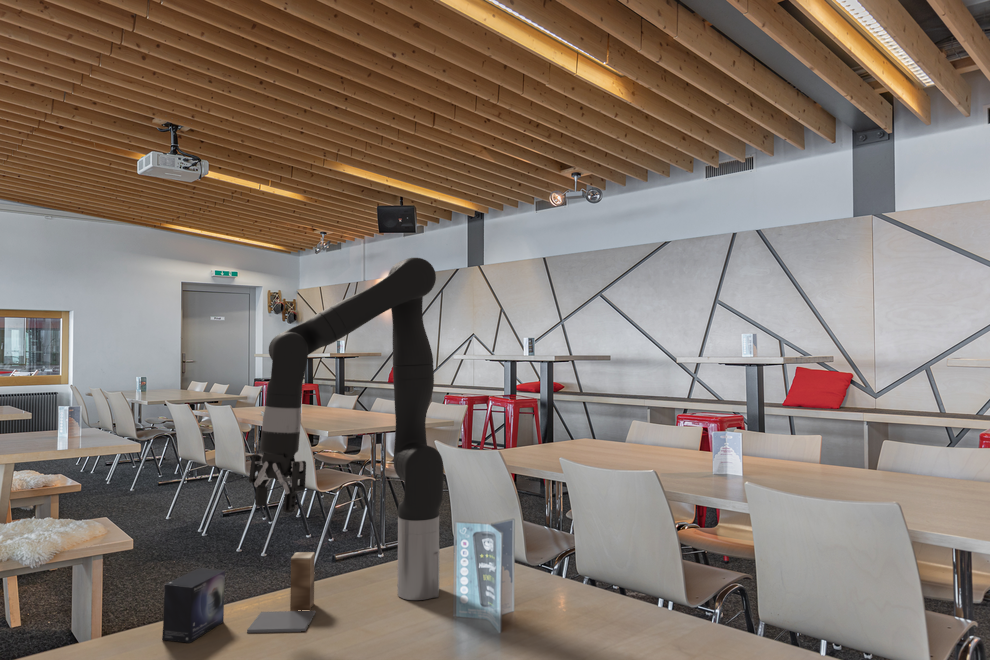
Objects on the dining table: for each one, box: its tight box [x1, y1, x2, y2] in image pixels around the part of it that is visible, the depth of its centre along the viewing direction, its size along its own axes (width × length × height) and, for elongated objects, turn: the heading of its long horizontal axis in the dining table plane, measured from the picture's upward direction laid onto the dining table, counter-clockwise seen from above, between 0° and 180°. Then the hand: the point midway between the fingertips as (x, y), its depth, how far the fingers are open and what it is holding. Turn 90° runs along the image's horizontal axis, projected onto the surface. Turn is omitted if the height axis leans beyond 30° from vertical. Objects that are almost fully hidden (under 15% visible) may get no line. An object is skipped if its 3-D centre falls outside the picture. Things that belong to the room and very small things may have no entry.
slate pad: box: [246, 610, 316, 634], centre depth 131 cm, size 11×9×1 cm
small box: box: [161, 567, 226, 644], centre depth 128 cm, size 11×6×10 cm, turn 168°
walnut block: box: [289, 551, 316, 611], centre depth 140 cm, size 4×4×11 cm
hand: (274, 508), depth 135 cm, fingers open, 8 cm apart
